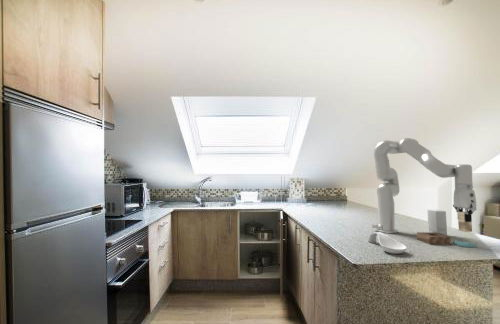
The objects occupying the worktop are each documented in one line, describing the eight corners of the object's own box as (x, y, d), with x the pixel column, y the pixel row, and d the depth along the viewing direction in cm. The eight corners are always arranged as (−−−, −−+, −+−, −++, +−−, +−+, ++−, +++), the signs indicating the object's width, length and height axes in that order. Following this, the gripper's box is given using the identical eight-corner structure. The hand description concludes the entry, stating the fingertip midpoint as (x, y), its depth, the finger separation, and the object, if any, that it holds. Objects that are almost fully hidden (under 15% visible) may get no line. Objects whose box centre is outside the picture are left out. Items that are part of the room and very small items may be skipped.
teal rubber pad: (463, 247, 137) (463, 245, 137) (449, 242, 146) (449, 241, 146) (479, 247, 137) (479, 245, 138) (465, 242, 146) (465, 240, 146)
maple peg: (465, 231, 140) (463, 213, 140) (458, 230, 144) (457, 211, 144) (472, 231, 140) (471, 212, 140) (465, 229, 144) (464, 211, 144)
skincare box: (447, 237, 159) (447, 211, 159) (436, 237, 159) (436, 211, 159) (437, 233, 167) (437, 209, 167) (427, 233, 167) (427, 209, 167)
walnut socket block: (429, 244, 143) (429, 236, 143) (417, 239, 153) (417, 232, 153) (450, 244, 144) (450, 236, 144) (437, 239, 154) (436, 232, 154)
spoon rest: (412, 255, 125) (412, 240, 125) (390, 257, 123) (390, 241, 123) (380, 242, 148) (380, 229, 148) (361, 242, 147) (361, 230, 147)
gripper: (484, 188, 134) (485, 223, 134) (457, 186, 151) (458, 217, 150) (470, 188, 134) (471, 224, 133) (444, 186, 151) (445, 218, 150)
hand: (464, 220), depth 142 cm, fingers closed on maple peg, 4 cm apart
